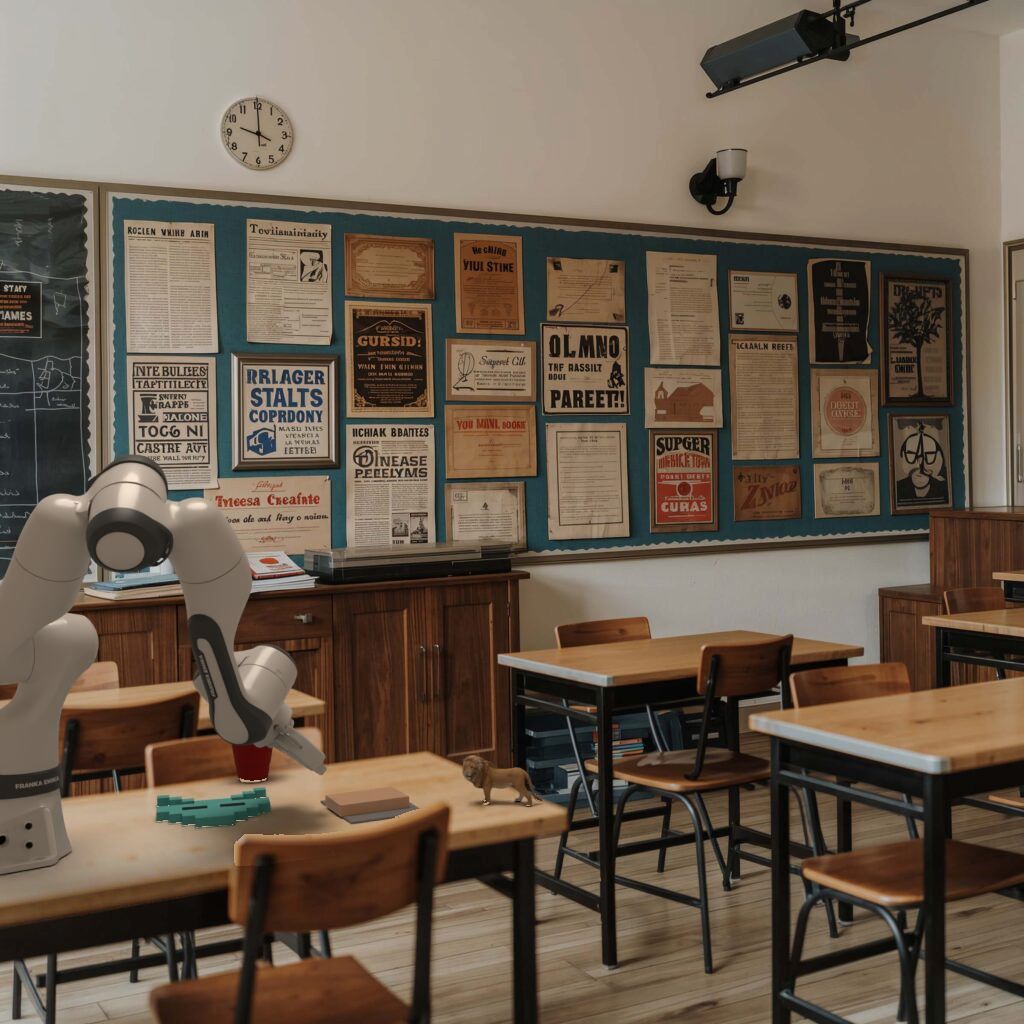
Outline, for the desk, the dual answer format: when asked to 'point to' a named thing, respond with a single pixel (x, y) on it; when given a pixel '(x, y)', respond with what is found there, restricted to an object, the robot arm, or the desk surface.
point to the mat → (376, 814)
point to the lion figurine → (496, 778)
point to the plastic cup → (252, 761)
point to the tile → (366, 801)
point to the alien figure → (212, 808)
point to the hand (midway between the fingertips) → (322, 770)
